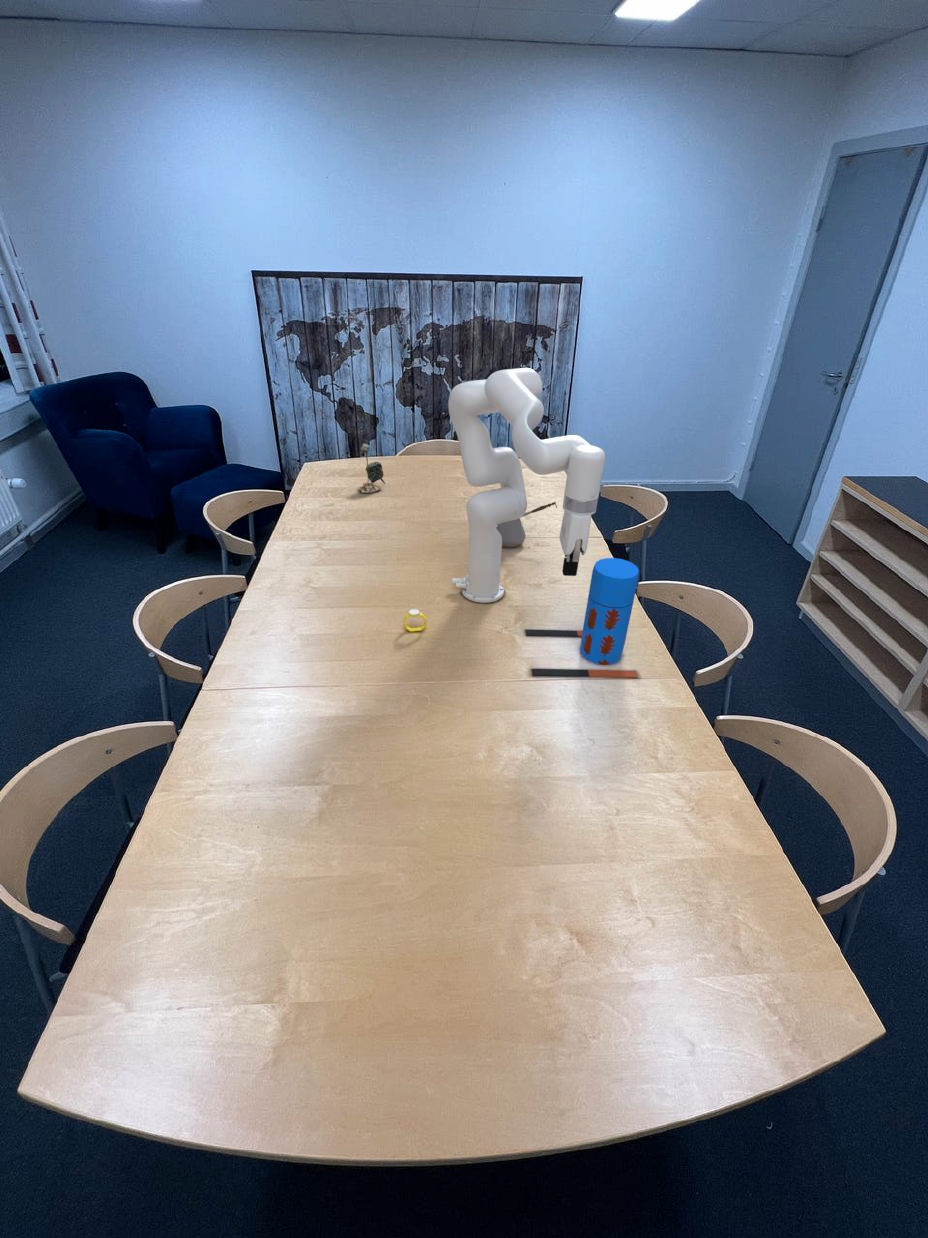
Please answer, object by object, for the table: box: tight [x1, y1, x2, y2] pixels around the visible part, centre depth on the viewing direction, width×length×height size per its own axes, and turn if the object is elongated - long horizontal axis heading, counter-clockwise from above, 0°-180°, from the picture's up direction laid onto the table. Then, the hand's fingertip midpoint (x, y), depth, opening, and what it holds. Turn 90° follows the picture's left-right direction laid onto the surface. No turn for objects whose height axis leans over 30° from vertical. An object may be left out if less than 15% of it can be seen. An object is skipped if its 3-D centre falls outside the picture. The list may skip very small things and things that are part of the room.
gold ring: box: [403, 608, 427, 632], centre depth 164 cm, size 6×3×6 cm, turn 95°
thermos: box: [580, 557, 640, 666], centre depth 153 cm, size 11×11×25 cm
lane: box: [525, 628, 639, 679], centre depth 159 cm, size 26×20×1 cm
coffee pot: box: [496, 501, 558, 549], centre depth 209 cm, size 21×12×15 cm, turn 95°
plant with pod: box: [358, 443, 386, 494], centre depth 246 cm, size 8×11×20 cm
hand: (569, 574), depth 147 cm, fingers closed
